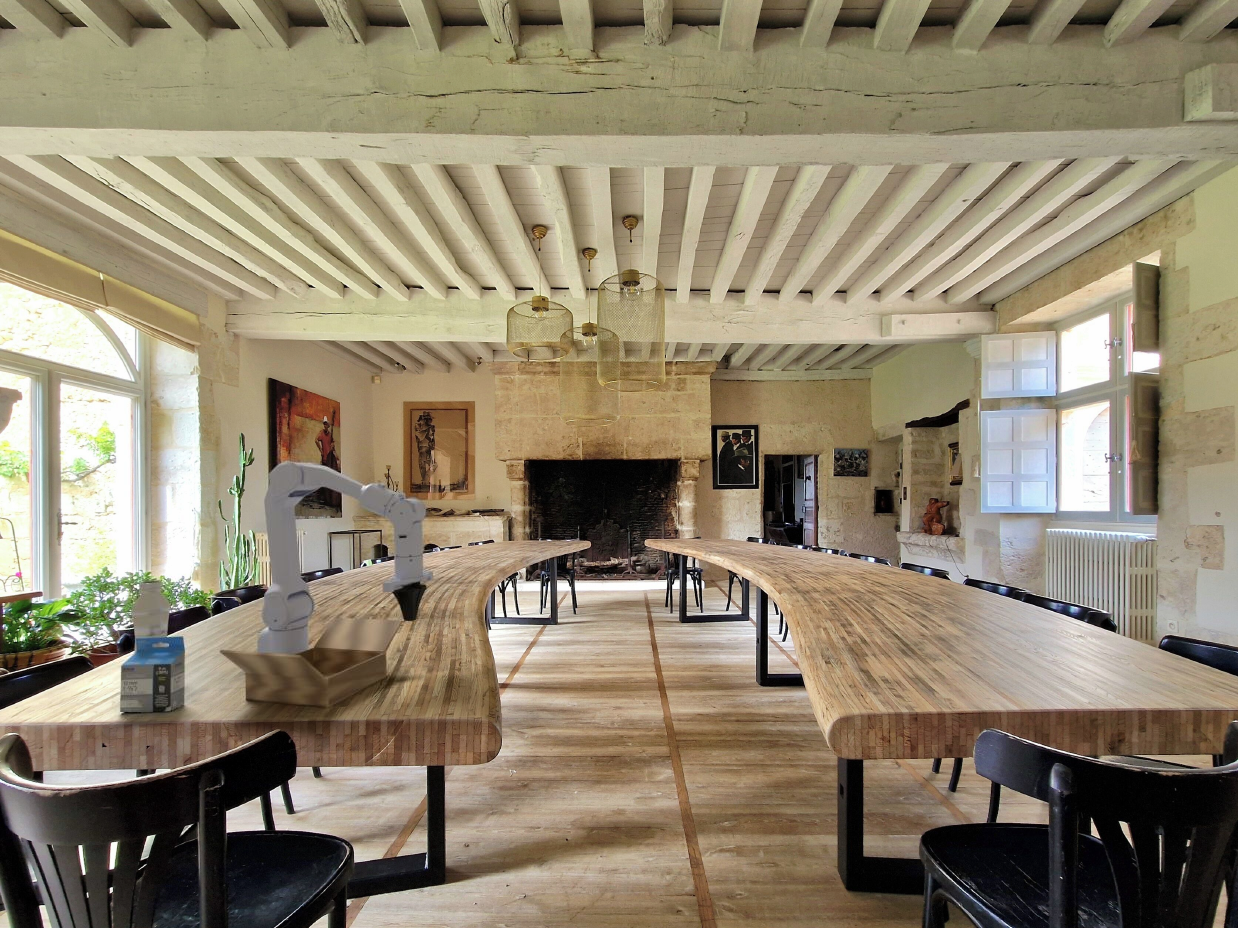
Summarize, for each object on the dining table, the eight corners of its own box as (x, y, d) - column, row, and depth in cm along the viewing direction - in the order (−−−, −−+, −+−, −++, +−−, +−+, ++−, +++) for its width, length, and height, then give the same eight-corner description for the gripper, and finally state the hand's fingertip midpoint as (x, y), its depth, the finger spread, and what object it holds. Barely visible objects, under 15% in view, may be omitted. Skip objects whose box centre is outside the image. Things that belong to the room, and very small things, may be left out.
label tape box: (118, 714, 104) (118, 643, 104) (136, 705, 108) (136, 637, 108) (170, 712, 104) (169, 641, 104) (186, 703, 108) (186, 635, 108)
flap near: (248, 671, 109) (246, 673, 109) (220, 649, 104) (219, 651, 104) (325, 677, 104) (324, 679, 104) (300, 655, 99) (299, 657, 99)
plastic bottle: (132, 687, 117) (131, 586, 118) (130, 679, 122) (129, 582, 123) (173, 679, 122) (171, 581, 122) (169, 672, 127) (168, 578, 127)
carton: (245, 699, 109) (245, 672, 109) (313, 671, 124) (312, 647, 124) (327, 707, 104) (326, 678, 104) (386, 677, 119) (386, 652, 119)
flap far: (334, 617, 130) (334, 618, 130) (313, 647, 124) (314, 648, 124) (401, 620, 125) (402, 621, 125) (383, 651, 119) (384, 652, 120)
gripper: (403, 560, 118) (404, 629, 117) (444, 551, 132) (446, 613, 131) (373, 560, 120) (374, 628, 119) (417, 551, 134) (418, 611, 133)
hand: (410, 620), depth 125 cm, fingers closed
